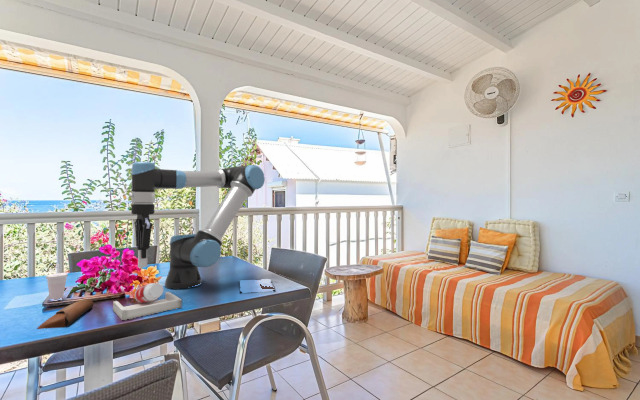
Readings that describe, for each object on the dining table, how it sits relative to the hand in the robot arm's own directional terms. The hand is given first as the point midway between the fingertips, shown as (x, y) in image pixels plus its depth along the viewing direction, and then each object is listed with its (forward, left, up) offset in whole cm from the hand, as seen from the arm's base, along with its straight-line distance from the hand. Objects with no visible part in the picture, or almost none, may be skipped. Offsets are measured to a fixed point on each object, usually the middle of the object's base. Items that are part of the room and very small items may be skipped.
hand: (142, 266), depth 118 cm
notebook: (-45, +8, -14) cm, 48 cm away
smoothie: (+22, -25, -14) cm, 36 cm away
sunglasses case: (+22, 0, -14) cm, 26 cm away
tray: (0, +8, -14) cm, 16 cm away
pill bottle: (0, 0, -11) cm, 11 cm away
